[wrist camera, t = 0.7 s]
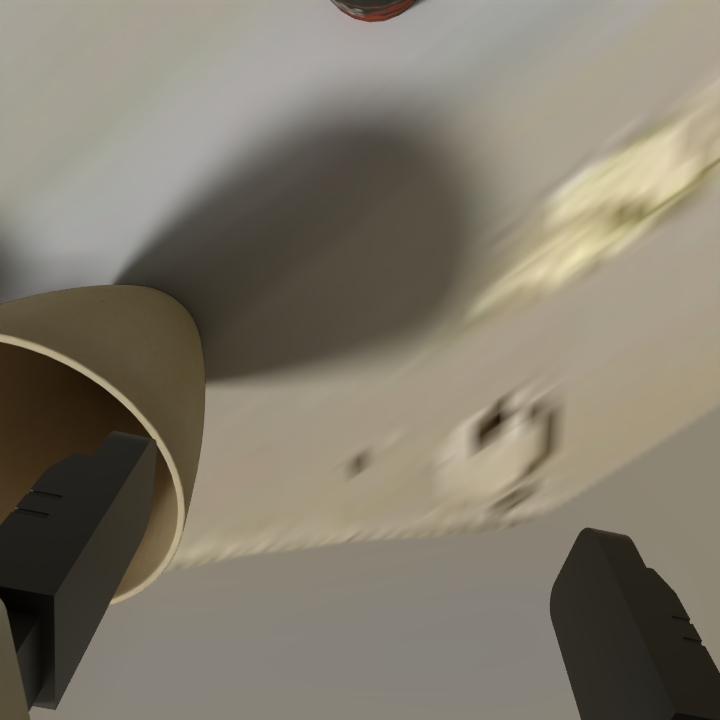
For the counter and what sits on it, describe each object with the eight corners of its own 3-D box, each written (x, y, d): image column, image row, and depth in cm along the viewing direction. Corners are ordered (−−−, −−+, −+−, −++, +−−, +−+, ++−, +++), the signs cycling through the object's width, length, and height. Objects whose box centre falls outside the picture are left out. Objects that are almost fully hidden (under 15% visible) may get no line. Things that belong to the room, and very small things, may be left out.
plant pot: (103, 174, 35) (-85, 250, 21) (300, 330, 39) (254, 482, 25) (-10, 345, 41) (-221, 498, 26) (174, 467, 45) (77, 657, 30)
